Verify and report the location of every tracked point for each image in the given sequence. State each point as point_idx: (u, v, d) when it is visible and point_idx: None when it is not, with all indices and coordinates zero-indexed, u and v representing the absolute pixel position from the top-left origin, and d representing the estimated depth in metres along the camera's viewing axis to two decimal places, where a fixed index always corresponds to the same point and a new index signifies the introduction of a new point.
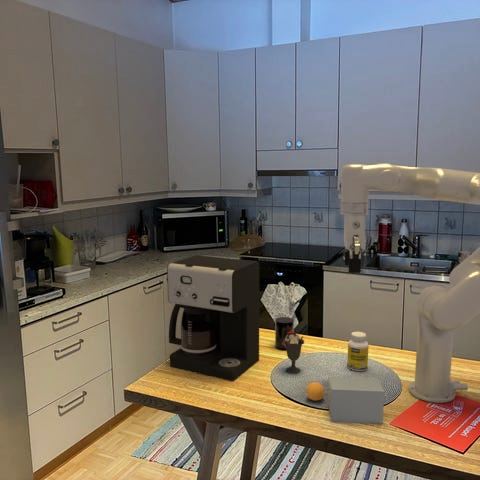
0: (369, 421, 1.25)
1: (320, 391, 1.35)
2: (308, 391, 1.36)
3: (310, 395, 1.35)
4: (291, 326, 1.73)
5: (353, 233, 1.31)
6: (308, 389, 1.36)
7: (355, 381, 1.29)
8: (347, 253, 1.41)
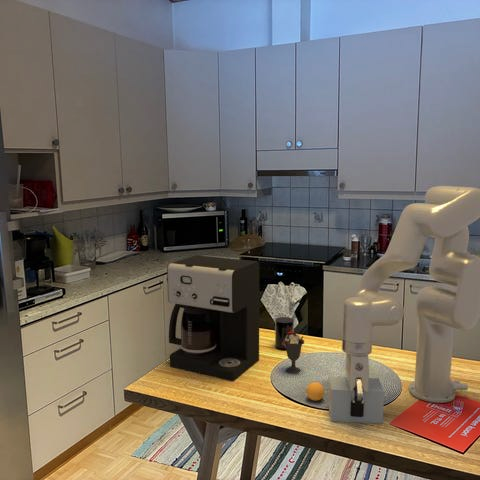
0: (369, 421, 1.25)
1: (320, 391, 1.35)
2: (308, 391, 1.36)
3: (310, 395, 1.35)
4: (291, 326, 1.73)
5: (356, 376, 1.22)
6: (308, 389, 1.36)
7: None
8: None
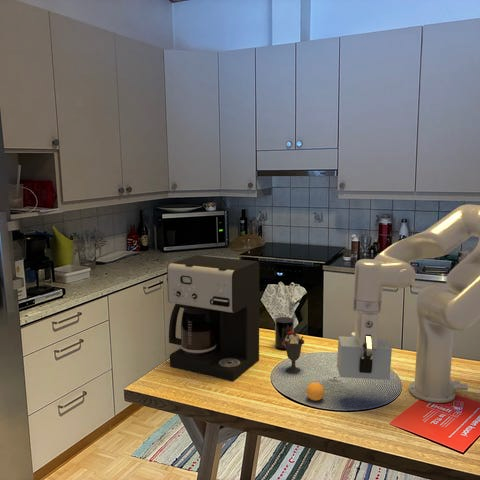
0: (376, 378, 1.30)
1: (320, 391, 1.35)
2: (308, 391, 1.36)
3: (310, 395, 1.35)
4: (291, 326, 1.73)
5: (365, 333, 1.28)
6: (308, 389, 1.36)
7: None
8: None
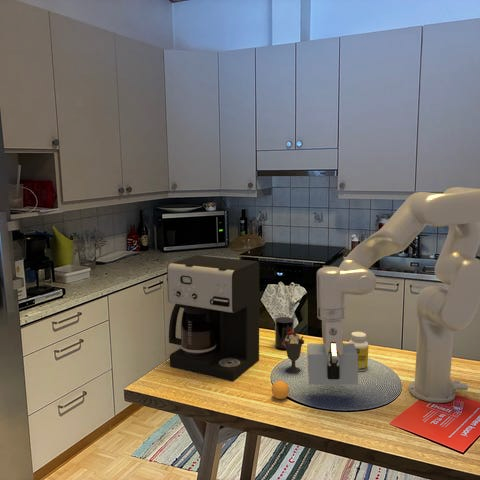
0: (345, 383, 1.32)
1: (278, 398, 1.36)
2: (287, 389, 1.36)
3: (283, 389, 1.36)
4: (291, 326, 1.73)
5: (330, 341, 1.29)
6: (288, 390, 1.37)
7: None
8: None
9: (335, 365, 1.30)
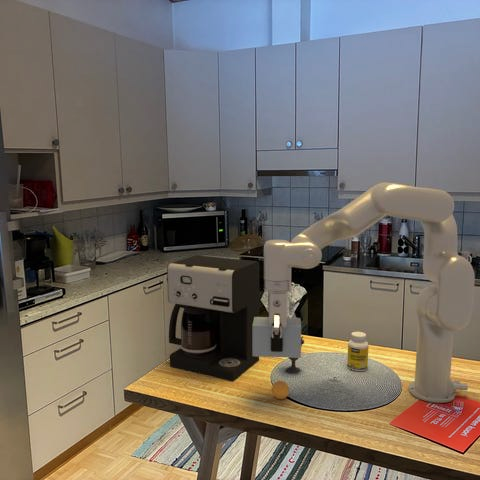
0: (288, 356, 1.32)
1: (278, 398, 1.36)
2: (287, 389, 1.36)
3: (283, 389, 1.36)
4: None
5: (274, 312, 1.29)
6: (288, 390, 1.37)
7: None
8: None
9: (278, 337, 1.30)
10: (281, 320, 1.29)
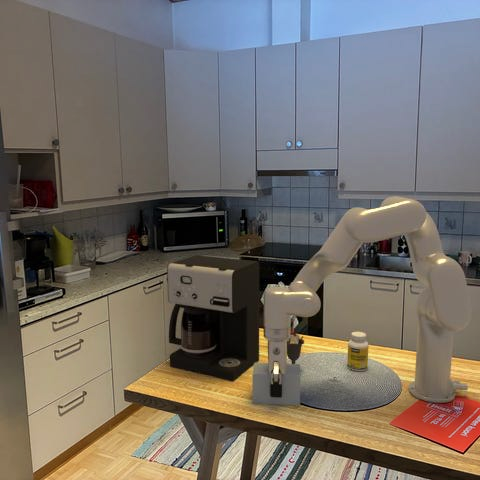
0: (287, 403, 1.34)
1: None
2: None
3: None
4: (291, 326, 1.73)
5: (273, 359, 1.31)
6: None
7: None
8: None
9: (277, 383, 1.31)
10: (280, 366, 1.31)
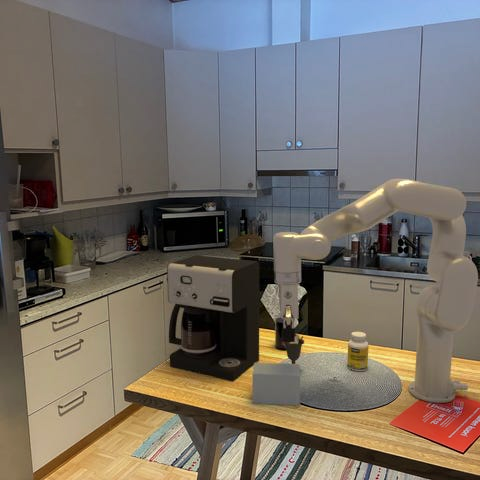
0: (287, 403, 1.34)
1: None
2: None
3: None
4: None
5: (285, 303, 1.31)
6: None
7: (276, 366, 1.38)
8: None
9: (290, 327, 1.30)
10: (292, 310, 1.31)
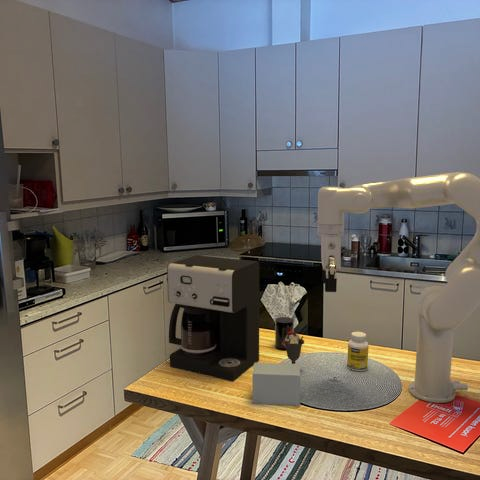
0: (287, 403, 1.34)
1: None
2: None
3: None
4: (291, 326, 1.73)
5: (329, 254, 1.36)
6: None
7: (276, 366, 1.38)
8: (325, 271, 1.46)
9: (333, 277, 1.35)
10: (335, 260, 1.36)
